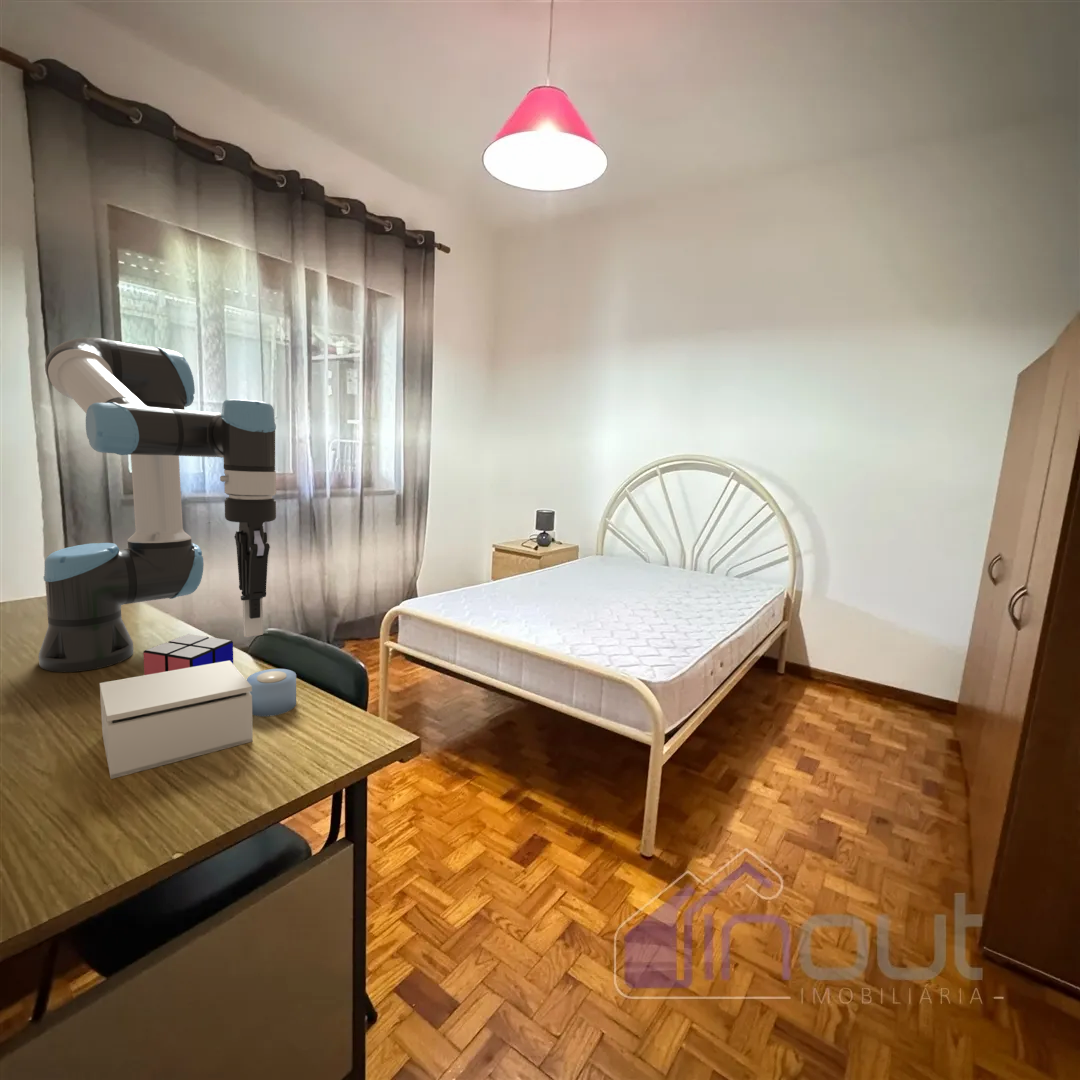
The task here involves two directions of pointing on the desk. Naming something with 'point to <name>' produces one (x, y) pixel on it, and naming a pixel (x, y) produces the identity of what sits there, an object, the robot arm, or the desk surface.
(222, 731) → the carton
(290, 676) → the blue domed cylinder
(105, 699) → the hinged white flap
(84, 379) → the robot arm
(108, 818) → the desk surface
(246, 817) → the desk surface
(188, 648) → the puzzle cube
